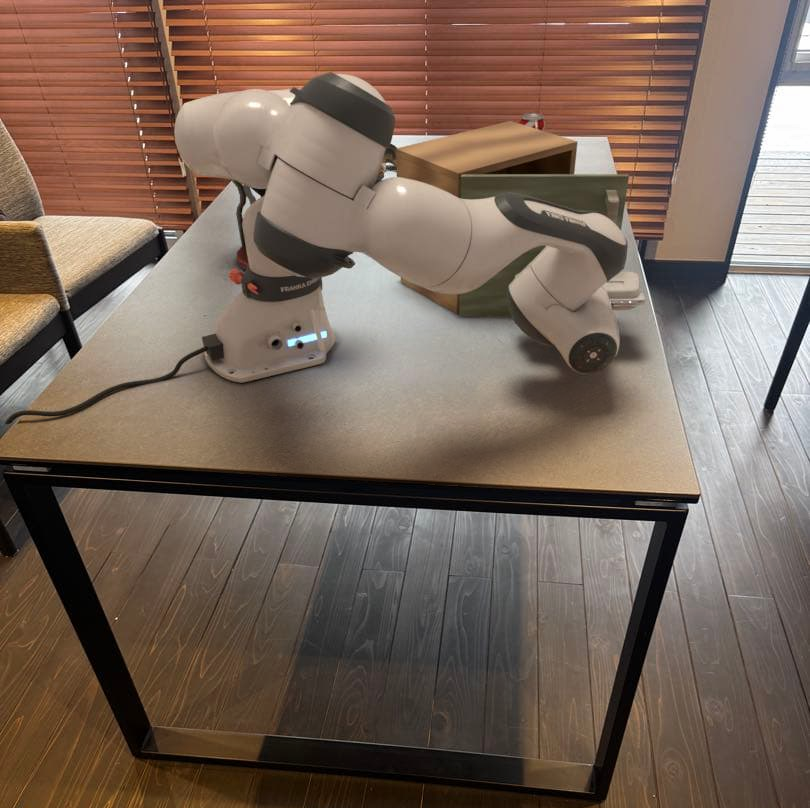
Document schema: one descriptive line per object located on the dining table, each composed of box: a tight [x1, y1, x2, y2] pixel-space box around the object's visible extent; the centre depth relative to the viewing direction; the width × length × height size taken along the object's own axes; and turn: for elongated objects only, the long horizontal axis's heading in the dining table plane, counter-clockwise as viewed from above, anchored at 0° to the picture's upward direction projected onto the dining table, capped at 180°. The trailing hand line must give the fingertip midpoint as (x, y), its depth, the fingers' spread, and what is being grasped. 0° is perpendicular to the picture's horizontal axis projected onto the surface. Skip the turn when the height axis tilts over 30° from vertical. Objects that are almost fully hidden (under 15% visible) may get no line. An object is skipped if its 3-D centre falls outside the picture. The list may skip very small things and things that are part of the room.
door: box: [458, 173, 630, 318], centre depth 132 cm, size 7×26×24 cm, turn 84°
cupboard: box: [395, 120, 578, 315], centre depth 147 cm, size 18×26×24 cm
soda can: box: [518, 112, 547, 132], centre depth 201 cm, size 7×7×12 cm
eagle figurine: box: [382, 143, 398, 173], centre depth 206 cm, size 8×7×9 cm
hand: (571, 270), depth 135 cm, fingers closed
